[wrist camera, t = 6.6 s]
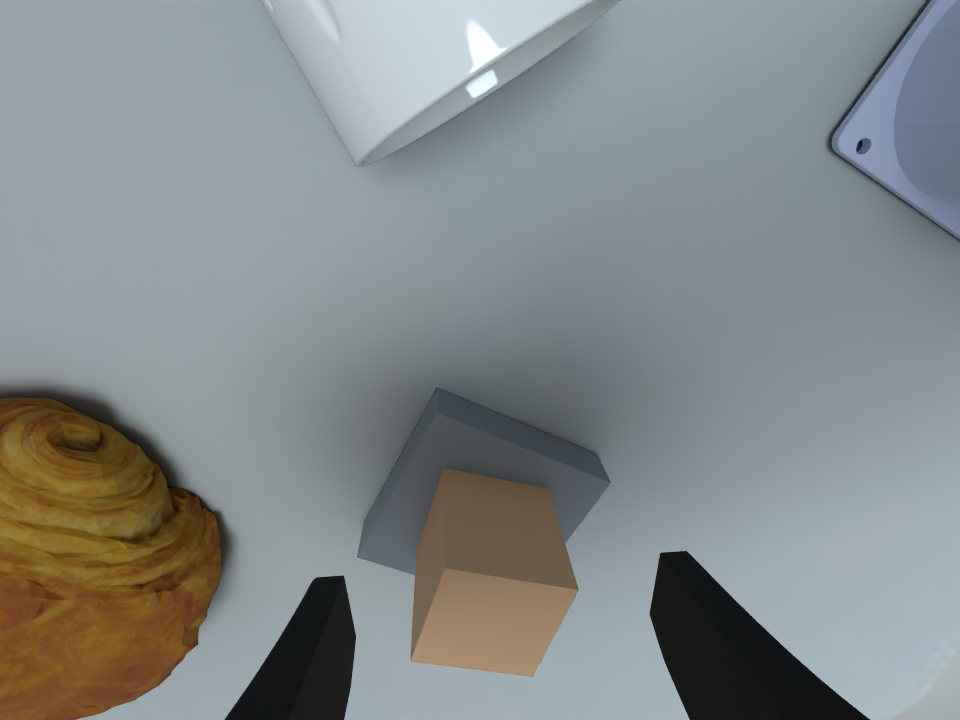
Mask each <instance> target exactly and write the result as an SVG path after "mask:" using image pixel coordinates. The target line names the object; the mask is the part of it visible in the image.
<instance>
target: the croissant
mask: <svg viewBox="0 0 960 720" xmlns="http://www.w3.org/2000/svg"><path fill="white" fill-rule="evenodd" d="M221 570H222V557H221V549H220V532H219V529H218V526H217V520H216V516H215V515H213V514H212V512H209V511H207V510H206V509H205V508H202V509H201V505H200V499H199V497H198V496H197V495H194V494H190V493H189V492H188V491H186V490H185V489H181V488H169V489H168V488H167V483H166V479H165V477H164V475H163V473H162V471H161V469H160V467H159V465H158V464H157V463H155V462H153V461H151V460H150V459H148V458H147V456H146V455H145V454H144V452H143V451H142V449H141V448H140V447H139V445H137V444H135V443H132V442H131V441H130V440H128V439H125V436H124V435H123V434H121V433H119V432H118V431H116V430H115V429H114V428H112V427H111V426H109V425H106V424H103V423H101V422H99V421H97V420H95V419H93V418H91V417H89V416H87V415H85V414H83V413H81V412H79V411H78V410H76V409H74V408H71V407H69V406H67V405H64V404H62V403H60V402H58V401H56V400H52V399H47V398H0V720H76V719H79V718H83V717H88V716H93V715H96V714H100V713H103V712H105V711H107V710H109V709H110V708H112V707H115V706H118V705H121V704H124V703H127V702H130V701H133V700H136V699H137V698H139V697H140V696H142V695H144V694H145V693H147V692H149V691H150V690H152V689H154V688H155V687H157V686H158V685H160V684H161V683H162V682H163V681H164V680H165V679H166V678H167V677H168V676H170V675H171V672H172V670H173V669H174V668H175V667H176V666H177V665H178V664H179V663H180V662H181V661H182V660H183V659H184V657H185V655H186V654H187V653H188V652H189V651H190V650H192V649H193V648H194V647H195V646H197V645H198V632H199V627H200V625H201V624H202V623H203V621H204V620H205V618H206V617H207V609H208V608H209V605H210V602H211V599H212V596H213V594H214V593H215V591H216V589H217V587H218V584H219V579H220V575H221Z"/></svg>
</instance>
